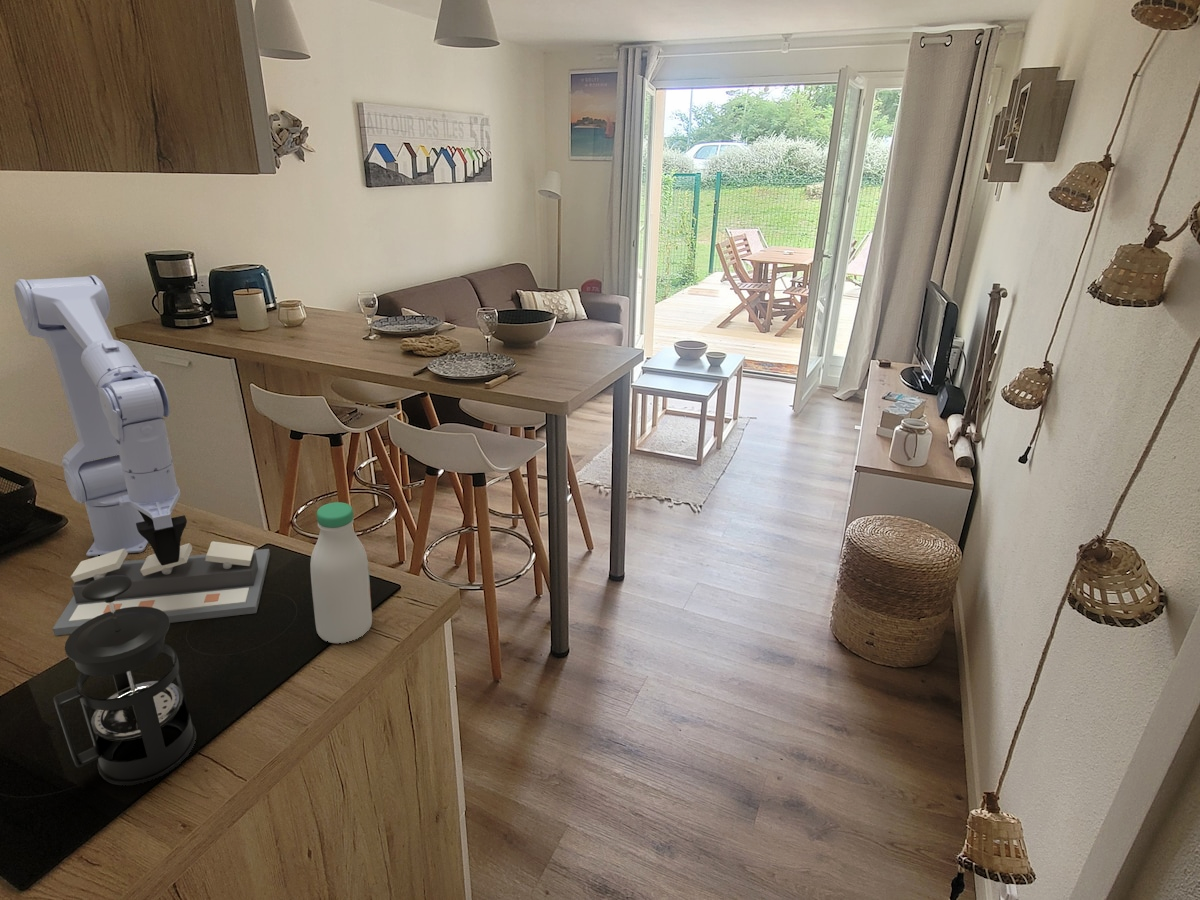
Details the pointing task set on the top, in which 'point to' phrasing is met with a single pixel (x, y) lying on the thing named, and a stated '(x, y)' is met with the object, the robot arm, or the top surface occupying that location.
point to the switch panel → (177, 591)
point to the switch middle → (154, 565)
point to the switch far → (229, 554)
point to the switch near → (99, 565)
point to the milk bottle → (340, 577)
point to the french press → (127, 688)
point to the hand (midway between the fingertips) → (165, 549)
